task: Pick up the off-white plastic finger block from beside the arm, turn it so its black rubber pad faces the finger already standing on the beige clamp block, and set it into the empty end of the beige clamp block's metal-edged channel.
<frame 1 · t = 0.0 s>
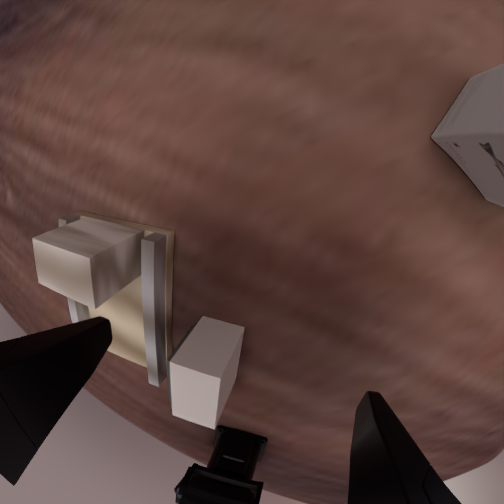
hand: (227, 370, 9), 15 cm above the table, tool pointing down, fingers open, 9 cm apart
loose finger: (220, 349, 27), on the table
supplement box: (480, 138, 16), on the table
beige clamp block: (123, 294, 28), on the table
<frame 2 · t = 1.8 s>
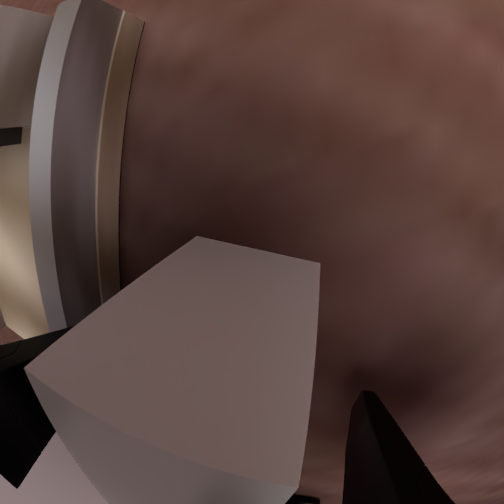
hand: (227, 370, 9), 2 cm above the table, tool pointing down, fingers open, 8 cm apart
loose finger: (242, 338, 10), on the table
beige clamp block: (33, 211, 11), on the table
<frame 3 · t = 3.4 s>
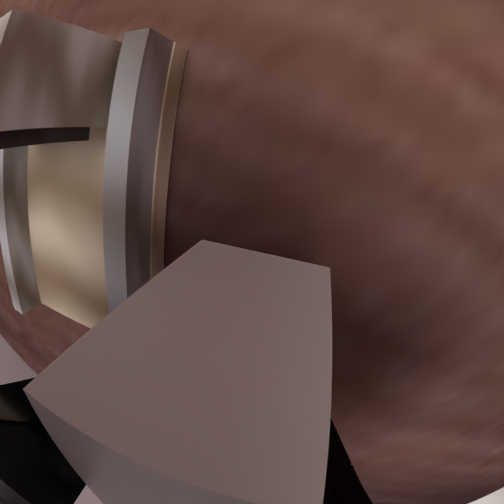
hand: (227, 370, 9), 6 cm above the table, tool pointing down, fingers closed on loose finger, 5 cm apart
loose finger: (248, 344, 10), point 4 cm above the table, touching gripper
beige clamp block: (82, 197, 14), on the table
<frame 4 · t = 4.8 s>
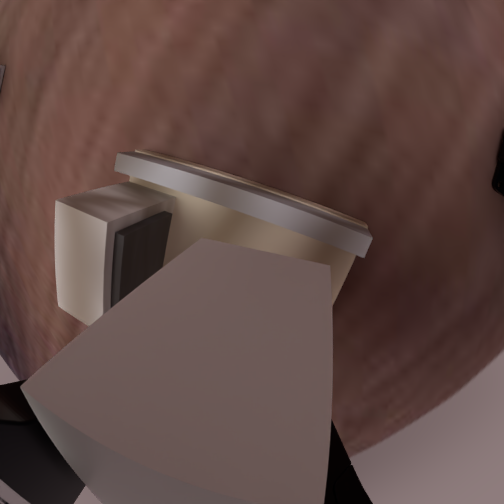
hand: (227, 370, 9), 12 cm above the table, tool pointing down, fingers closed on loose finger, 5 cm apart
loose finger: (248, 343, 10), point 10 cm above the table, touching gripper
beige clamp block: (224, 258, 21), on the table
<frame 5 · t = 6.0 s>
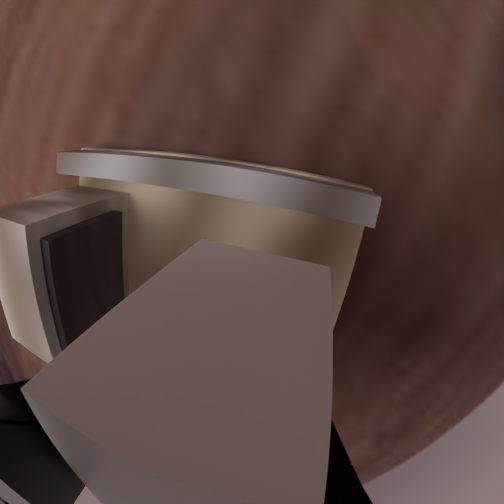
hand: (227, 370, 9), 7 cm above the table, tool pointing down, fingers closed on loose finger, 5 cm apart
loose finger: (248, 344, 10), point 6 cm above the table, touching gripper
beige clamp block: (197, 261, 16), on the table
when the fingers open (4 cm above the table, at t = 7.2 s): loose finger drops 1 cm, resting on beige clamp block.
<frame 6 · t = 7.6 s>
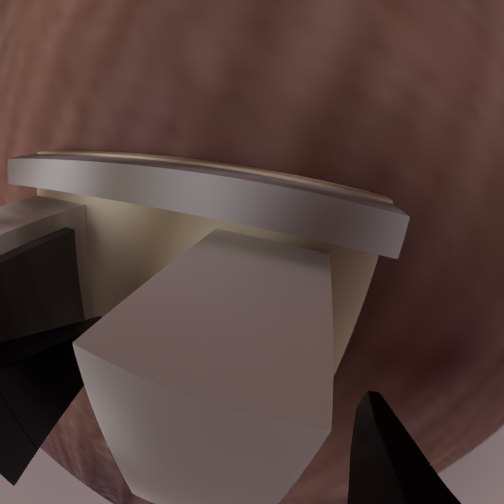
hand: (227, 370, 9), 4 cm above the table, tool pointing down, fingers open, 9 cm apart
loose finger: (255, 325, 11), point 1 cm above the table, touching beige clamp block
beige clamp block: (169, 287, 13), on the table
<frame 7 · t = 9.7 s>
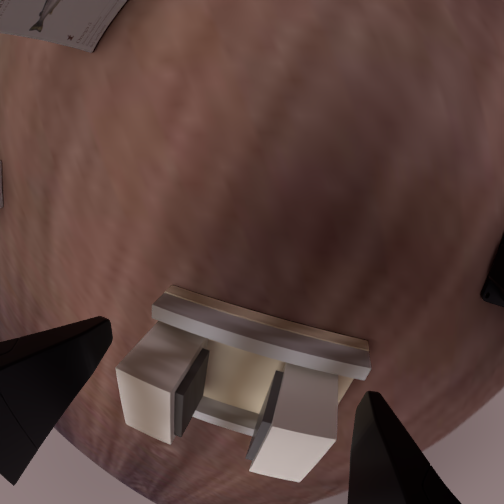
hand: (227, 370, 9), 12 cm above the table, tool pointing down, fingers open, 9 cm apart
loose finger: (300, 390, 22), point 1 cm above the table, touching beige clamp block
supplement box: (96, 12, 16), on the table
beige clamp block: (253, 368, 24), on the table
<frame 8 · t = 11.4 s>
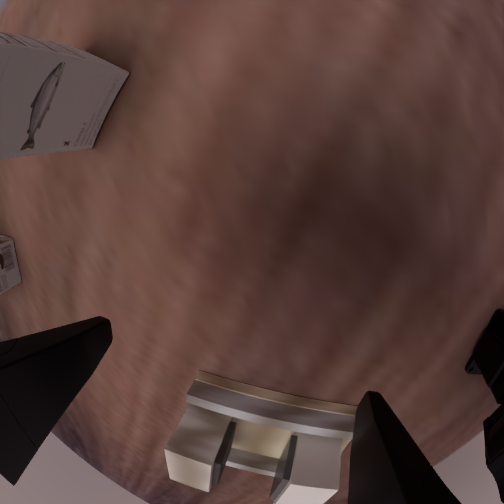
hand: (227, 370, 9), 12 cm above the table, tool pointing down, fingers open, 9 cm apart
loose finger: (311, 443, 24), point 1 cm above the table, touching beige clamp block
supplement box: (88, 96, 19), on the table
coffee box: (4, 254, 29), on the table
beige clamp block: (271, 427, 26), on the table
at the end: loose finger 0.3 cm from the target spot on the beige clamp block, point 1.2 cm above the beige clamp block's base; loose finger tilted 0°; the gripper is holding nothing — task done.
